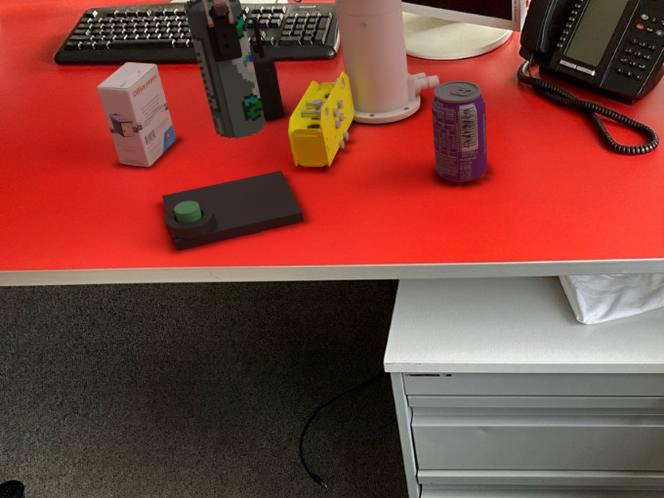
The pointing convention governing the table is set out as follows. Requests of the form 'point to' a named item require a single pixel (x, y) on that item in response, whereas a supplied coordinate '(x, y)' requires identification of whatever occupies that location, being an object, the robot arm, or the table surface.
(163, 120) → the ink box
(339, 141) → the yellow toy chassis
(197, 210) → the button
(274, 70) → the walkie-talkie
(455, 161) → the beverage can
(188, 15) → the can
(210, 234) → the scale
